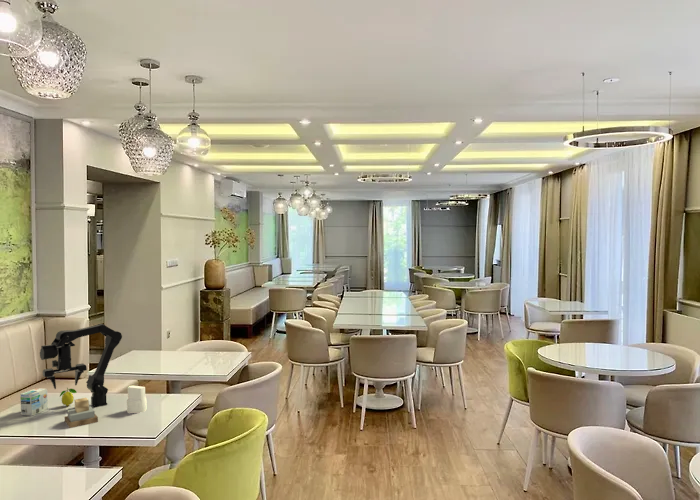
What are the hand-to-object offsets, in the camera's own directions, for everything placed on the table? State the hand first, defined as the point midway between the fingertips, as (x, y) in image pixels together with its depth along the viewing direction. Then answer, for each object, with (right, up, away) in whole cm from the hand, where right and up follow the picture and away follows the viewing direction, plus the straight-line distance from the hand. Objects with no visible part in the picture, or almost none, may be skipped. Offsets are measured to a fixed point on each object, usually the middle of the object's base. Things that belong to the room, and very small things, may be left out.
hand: (65, 387), depth 259 cm
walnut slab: (+15, -14, -13) cm, 24 cm away
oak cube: (+15, -8, -13) cm, 21 cm away
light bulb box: (-17, -14, +3) cm, 22 cm away
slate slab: (+15, -11, -13) cm, 22 cm away
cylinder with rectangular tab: (+35, -12, +1) cm, 37 cm away
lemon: (-5, -13, +11) cm, 18 cm away
